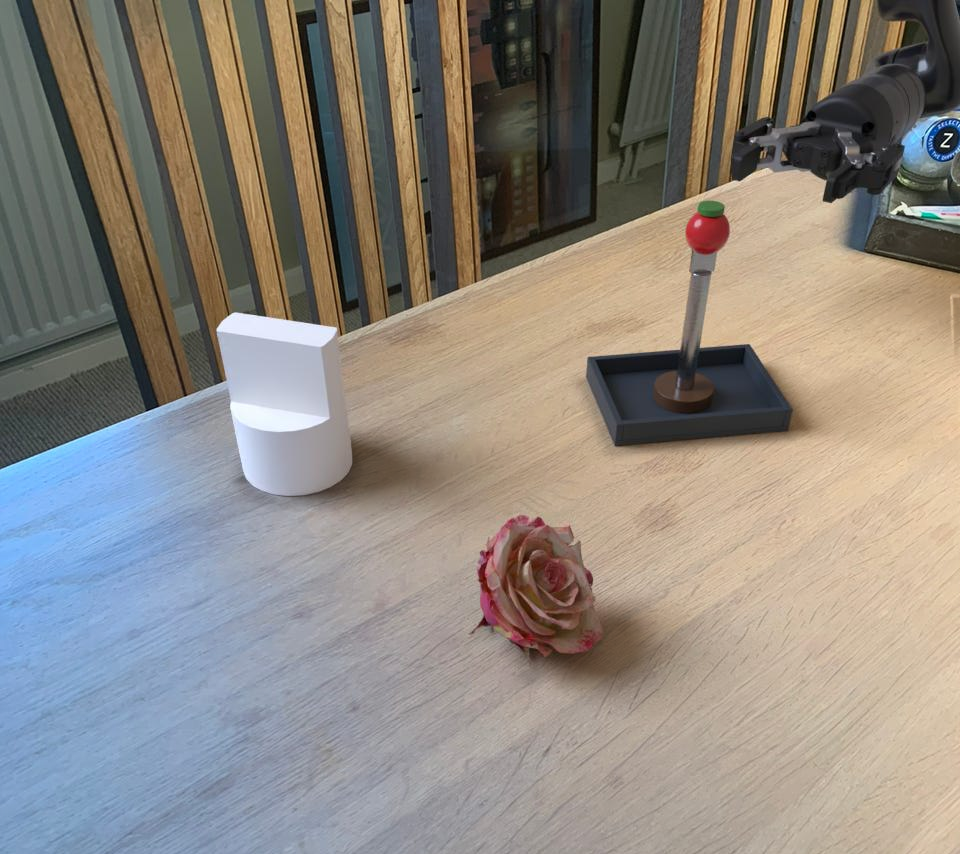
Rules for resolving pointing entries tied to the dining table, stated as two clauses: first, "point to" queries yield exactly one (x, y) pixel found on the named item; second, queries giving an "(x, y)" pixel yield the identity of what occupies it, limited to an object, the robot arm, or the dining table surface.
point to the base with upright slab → (286, 403)
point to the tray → (639, 419)
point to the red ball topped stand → (695, 313)
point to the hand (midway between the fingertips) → (781, 179)
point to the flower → (537, 588)
